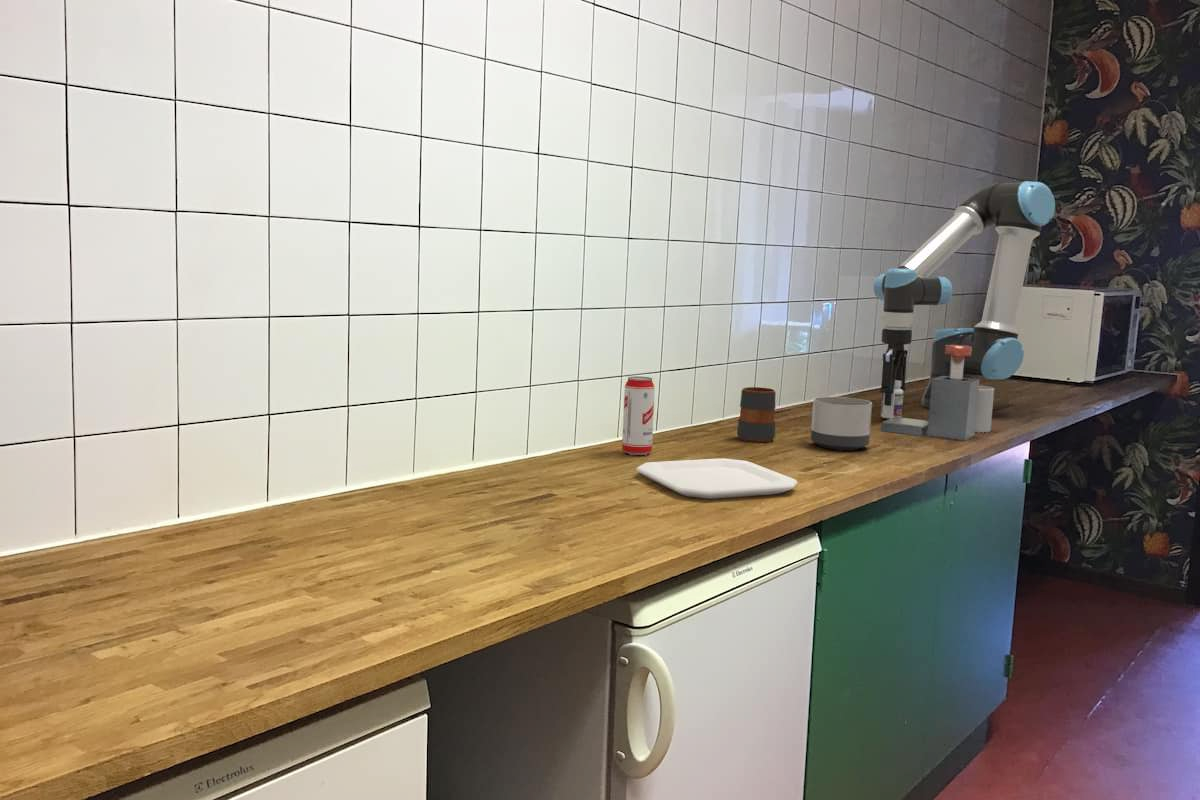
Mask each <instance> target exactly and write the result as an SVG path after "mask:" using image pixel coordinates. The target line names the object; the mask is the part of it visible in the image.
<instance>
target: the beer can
mask: <svg viewBox="0 0 1200 800" xmlns="http://www.w3.org/2000/svg"><path fill="white" fill-rule="evenodd" d="M655 389H656V387H655V384H654V382H653V377H649V376H637V375H636V376H633V375H632V376H628V377H627V381H626V383H625V385H624V394H623V417H622V418H623V419H622V421H623V422H622V438H621V439H622V441H621V442H622V444H621V448H622V449H621V450H622V451H623V453H624V454H625V453H628V454H632V455H631V456H633V455H645V456H648V455H649V454H650V453H652V450H653V433H654V414H655V413H654V412H655V411H654V409H655ZM648 453H649V454H648ZM647 454H648V455H647Z"/></svg>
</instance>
